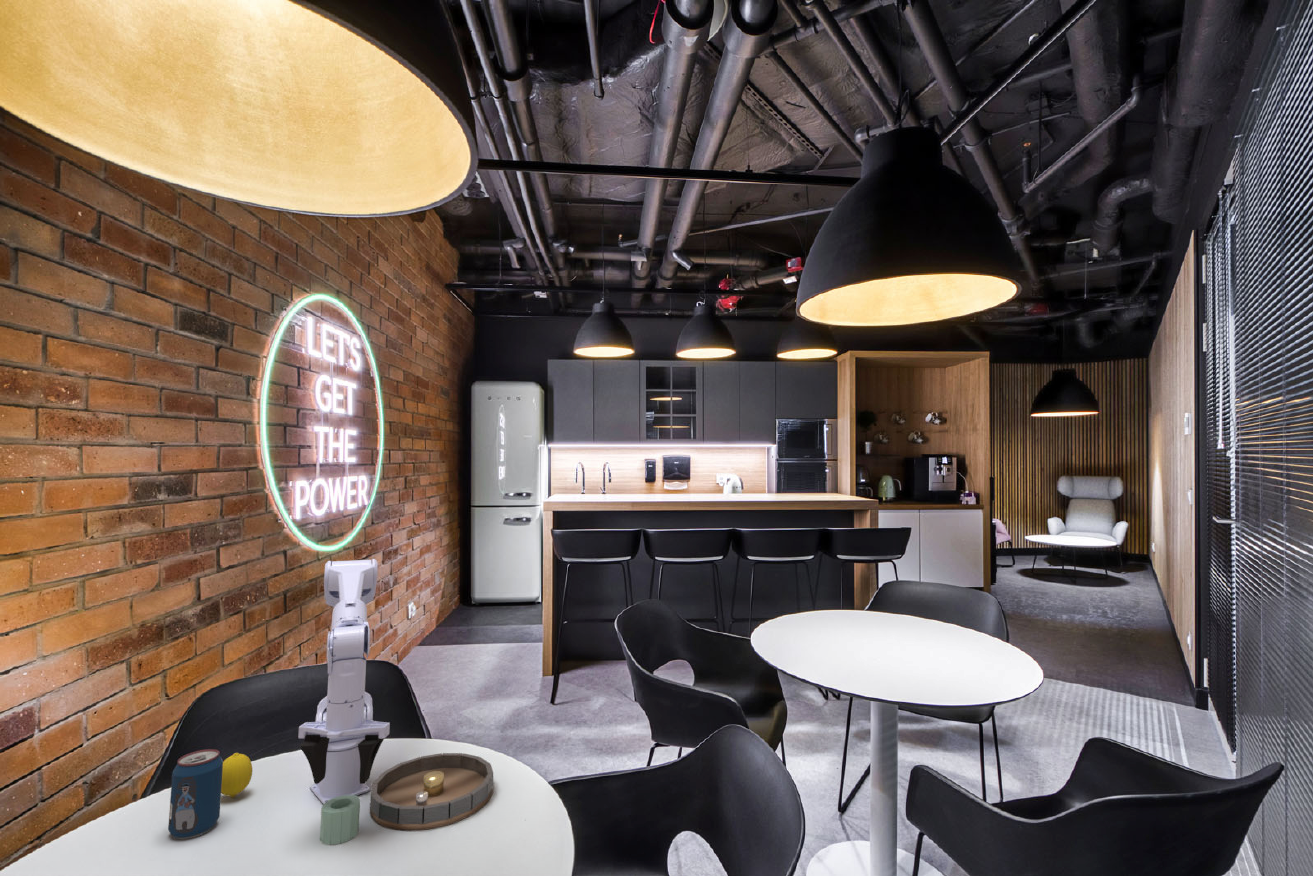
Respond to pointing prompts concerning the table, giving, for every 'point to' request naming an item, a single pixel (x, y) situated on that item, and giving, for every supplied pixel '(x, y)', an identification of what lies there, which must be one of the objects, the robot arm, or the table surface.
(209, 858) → the table surface
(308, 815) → the table surface
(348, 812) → the gear
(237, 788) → the lemon
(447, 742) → the table surface
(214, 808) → the soda can
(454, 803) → the tray
